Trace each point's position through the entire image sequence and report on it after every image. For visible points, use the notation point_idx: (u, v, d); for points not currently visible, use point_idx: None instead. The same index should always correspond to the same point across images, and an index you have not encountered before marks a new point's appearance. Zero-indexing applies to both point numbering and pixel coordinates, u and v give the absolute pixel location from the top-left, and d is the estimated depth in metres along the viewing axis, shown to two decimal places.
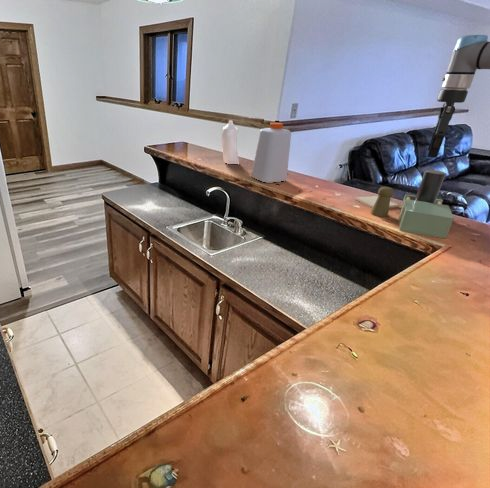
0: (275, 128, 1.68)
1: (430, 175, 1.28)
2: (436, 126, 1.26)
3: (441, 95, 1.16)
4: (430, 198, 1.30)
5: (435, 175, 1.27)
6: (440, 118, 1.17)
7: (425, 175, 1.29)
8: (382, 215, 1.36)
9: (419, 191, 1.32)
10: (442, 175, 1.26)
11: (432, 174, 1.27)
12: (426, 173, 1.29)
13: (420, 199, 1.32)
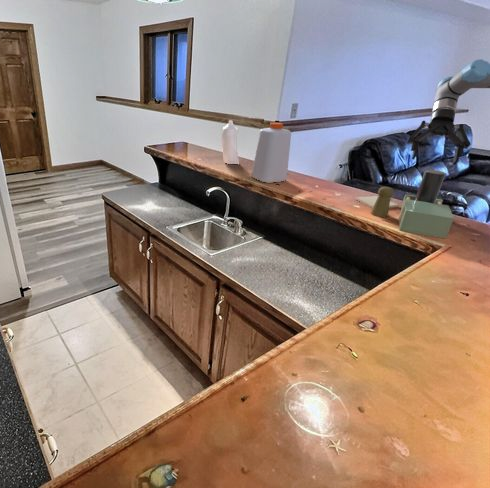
0: (275, 128, 1.68)
1: (430, 175, 1.28)
2: None
3: None
4: (430, 198, 1.30)
5: (435, 175, 1.27)
6: None
7: (425, 175, 1.29)
8: (382, 215, 1.36)
9: (419, 191, 1.32)
10: (442, 175, 1.26)
11: (432, 174, 1.27)
12: (426, 173, 1.29)
13: (420, 199, 1.32)
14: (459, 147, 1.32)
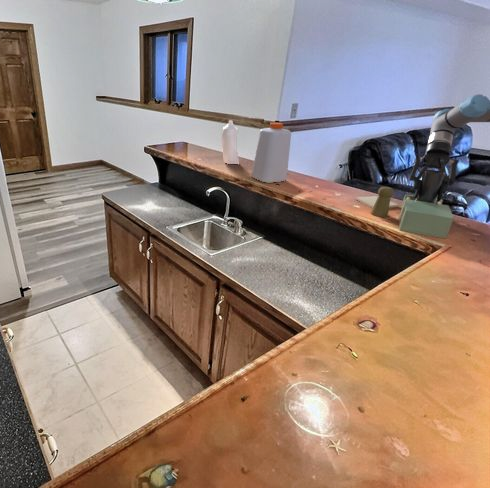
0: (275, 128, 1.68)
1: (430, 175, 1.28)
2: None
3: None
4: (430, 198, 1.30)
5: (435, 175, 1.27)
6: None
7: (425, 175, 1.29)
8: (382, 215, 1.36)
9: (419, 191, 1.32)
10: (442, 175, 1.26)
11: (432, 174, 1.27)
12: (426, 173, 1.29)
13: (420, 199, 1.32)
14: (443, 184, 1.29)
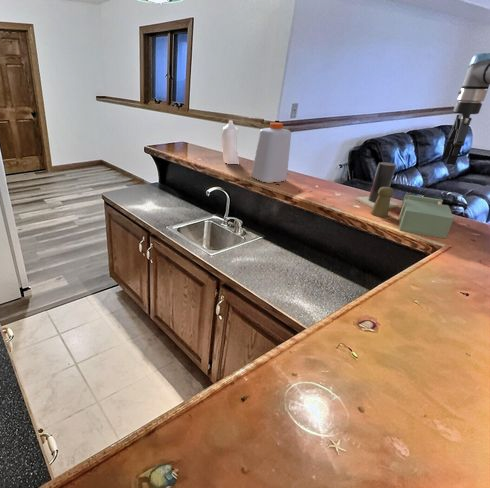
0: (275, 128, 1.68)
1: (382, 166, 1.42)
2: (450, 135, 1.36)
3: (458, 107, 1.26)
4: None
5: (386, 167, 1.41)
6: (457, 128, 1.27)
7: (378, 167, 1.44)
8: (382, 215, 1.36)
9: (374, 181, 1.47)
10: (393, 166, 1.41)
11: (384, 166, 1.42)
12: (379, 165, 1.44)
13: (375, 188, 1.47)
14: None
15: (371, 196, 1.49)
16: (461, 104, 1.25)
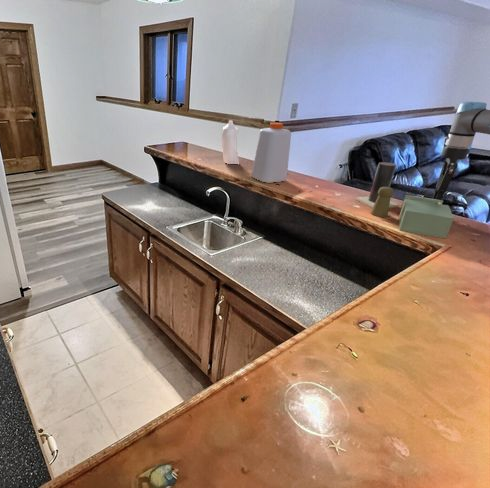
0: (275, 128, 1.68)
1: (382, 166, 1.42)
2: (438, 182, 1.36)
3: (445, 152, 1.29)
4: None
5: (386, 167, 1.41)
6: (442, 174, 1.32)
7: (378, 167, 1.44)
8: (382, 215, 1.36)
9: (374, 181, 1.47)
10: (393, 166, 1.41)
11: (384, 166, 1.42)
12: (379, 165, 1.44)
13: (375, 188, 1.47)
14: None
15: (371, 196, 1.49)
16: (448, 149, 1.28)
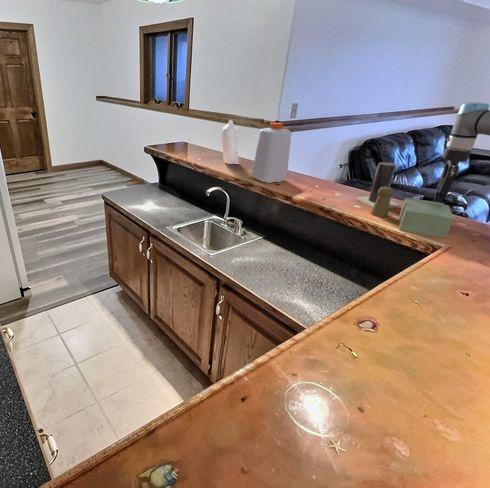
0: (275, 128, 1.68)
1: (382, 166, 1.42)
2: (439, 185, 1.33)
3: (447, 154, 1.26)
4: None
5: (386, 167, 1.41)
6: (444, 177, 1.29)
7: (378, 167, 1.44)
8: (382, 215, 1.36)
9: (374, 181, 1.47)
10: (393, 166, 1.41)
11: (384, 166, 1.42)
12: (379, 165, 1.44)
13: (375, 188, 1.47)
14: None
15: (371, 196, 1.49)
16: (450, 151, 1.25)
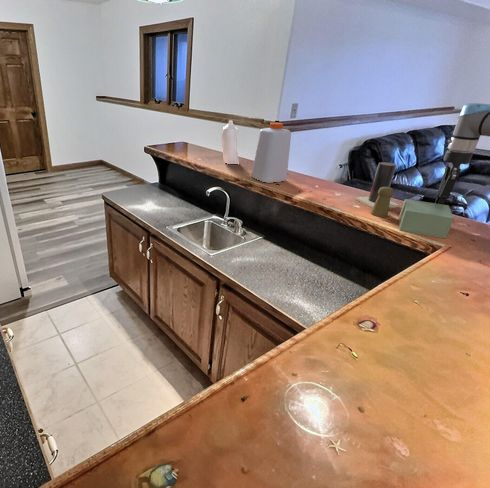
0: (275, 128, 1.68)
1: (382, 166, 1.42)
2: (441, 188, 1.29)
3: (448, 156, 1.22)
4: None
5: (386, 167, 1.41)
6: (445, 180, 1.26)
7: (378, 167, 1.44)
8: (382, 215, 1.36)
9: (374, 181, 1.47)
10: (393, 166, 1.41)
11: (384, 166, 1.42)
12: (379, 165, 1.44)
13: (375, 188, 1.47)
14: None
15: (371, 196, 1.49)
16: (451, 153, 1.21)
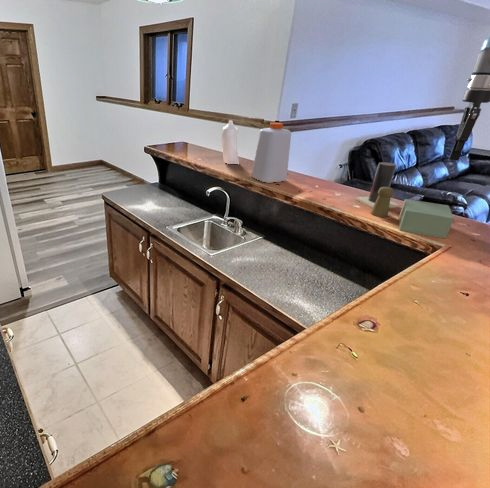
0: (275, 128, 1.68)
1: (382, 166, 1.42)
2: (459, 131, 1.25)
3: (468, 95, 1.18)
4: None
5: (386, 167, 1.41)
6: (464, 121, 1.21)
7: (378, 167, 1.44)
8: (382, 215, 1.36)
9: (374, 181, 1.47)
10: (393, 166, 1.41)
11: (384, 166, 1.42)
12: (379, 165, 1.44)
13: (375, 188, 1.47)
14: None
15: (371, 196, 1.49)
16: (471, 92, 1.17)
